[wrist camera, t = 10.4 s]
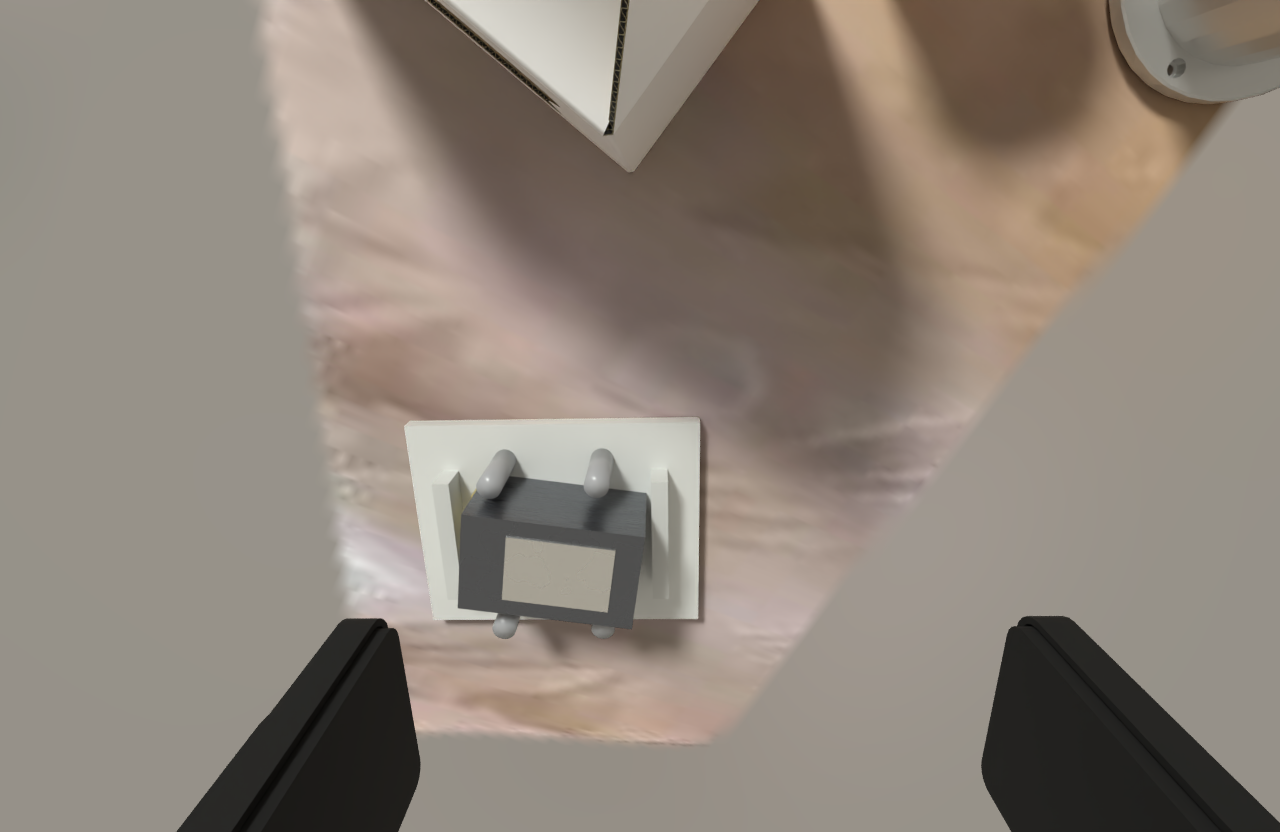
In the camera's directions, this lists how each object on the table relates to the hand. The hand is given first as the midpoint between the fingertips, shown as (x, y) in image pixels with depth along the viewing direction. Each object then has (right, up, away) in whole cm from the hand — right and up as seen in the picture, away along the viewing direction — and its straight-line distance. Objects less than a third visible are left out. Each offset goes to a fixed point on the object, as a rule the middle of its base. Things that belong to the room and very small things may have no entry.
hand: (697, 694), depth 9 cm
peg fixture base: (-6, -3, +31) cm, 32 cm away
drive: (-6, -3, +30) cm, 31 cm away
